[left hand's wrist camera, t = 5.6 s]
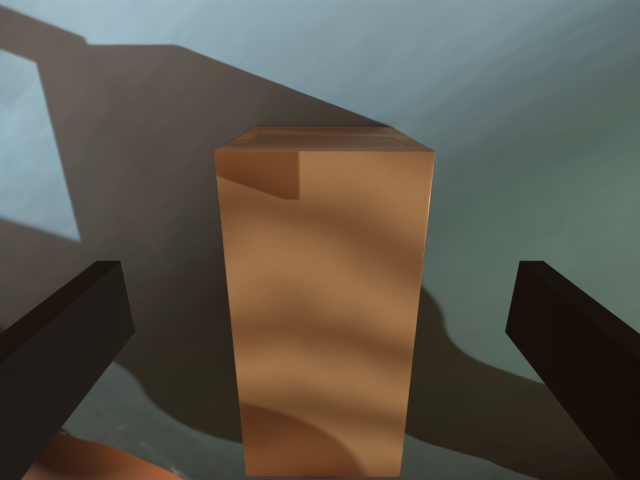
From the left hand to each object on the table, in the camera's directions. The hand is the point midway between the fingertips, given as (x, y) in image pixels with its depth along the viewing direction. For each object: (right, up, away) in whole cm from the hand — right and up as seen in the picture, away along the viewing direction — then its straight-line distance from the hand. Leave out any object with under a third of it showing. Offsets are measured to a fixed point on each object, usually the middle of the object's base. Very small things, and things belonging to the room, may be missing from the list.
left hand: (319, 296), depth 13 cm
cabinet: (0, +1, +19) cm, 19 cm away
